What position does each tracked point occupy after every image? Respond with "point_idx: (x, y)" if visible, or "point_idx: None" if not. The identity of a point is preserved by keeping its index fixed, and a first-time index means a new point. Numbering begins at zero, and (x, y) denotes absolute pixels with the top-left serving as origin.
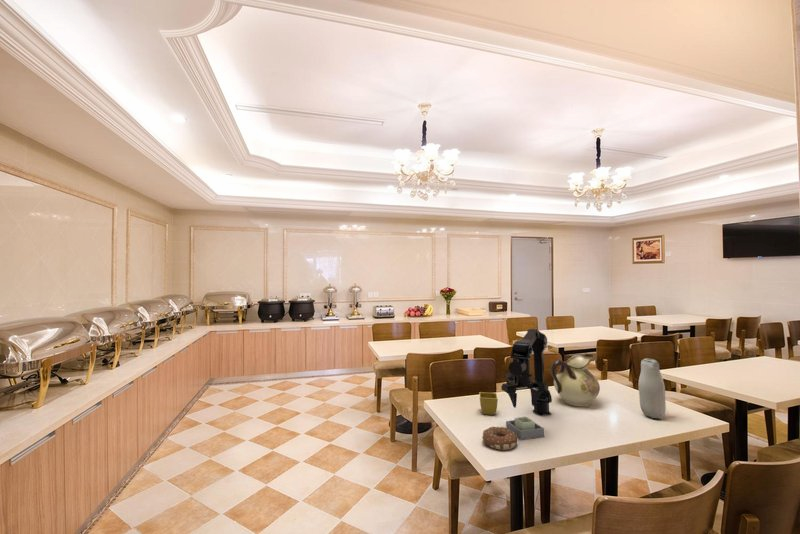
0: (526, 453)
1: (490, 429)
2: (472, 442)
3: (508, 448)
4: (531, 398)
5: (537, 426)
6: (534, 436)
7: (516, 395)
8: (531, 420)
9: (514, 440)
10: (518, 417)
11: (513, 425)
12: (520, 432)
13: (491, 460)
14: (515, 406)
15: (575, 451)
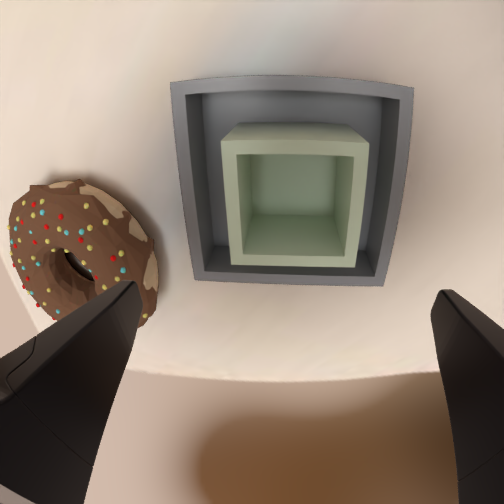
0: (175, 343)
1: (26, 241)
2: (4, 212)
3: None
4: (487, 350)
5: (381, 229)
6: None
7: (79, 496)
8: (347, 240)
9: None
10: (269, 140)
11: (190, 181)
12: (195, 274)
13: None
14: (132, 324)
15: (373, 374)
